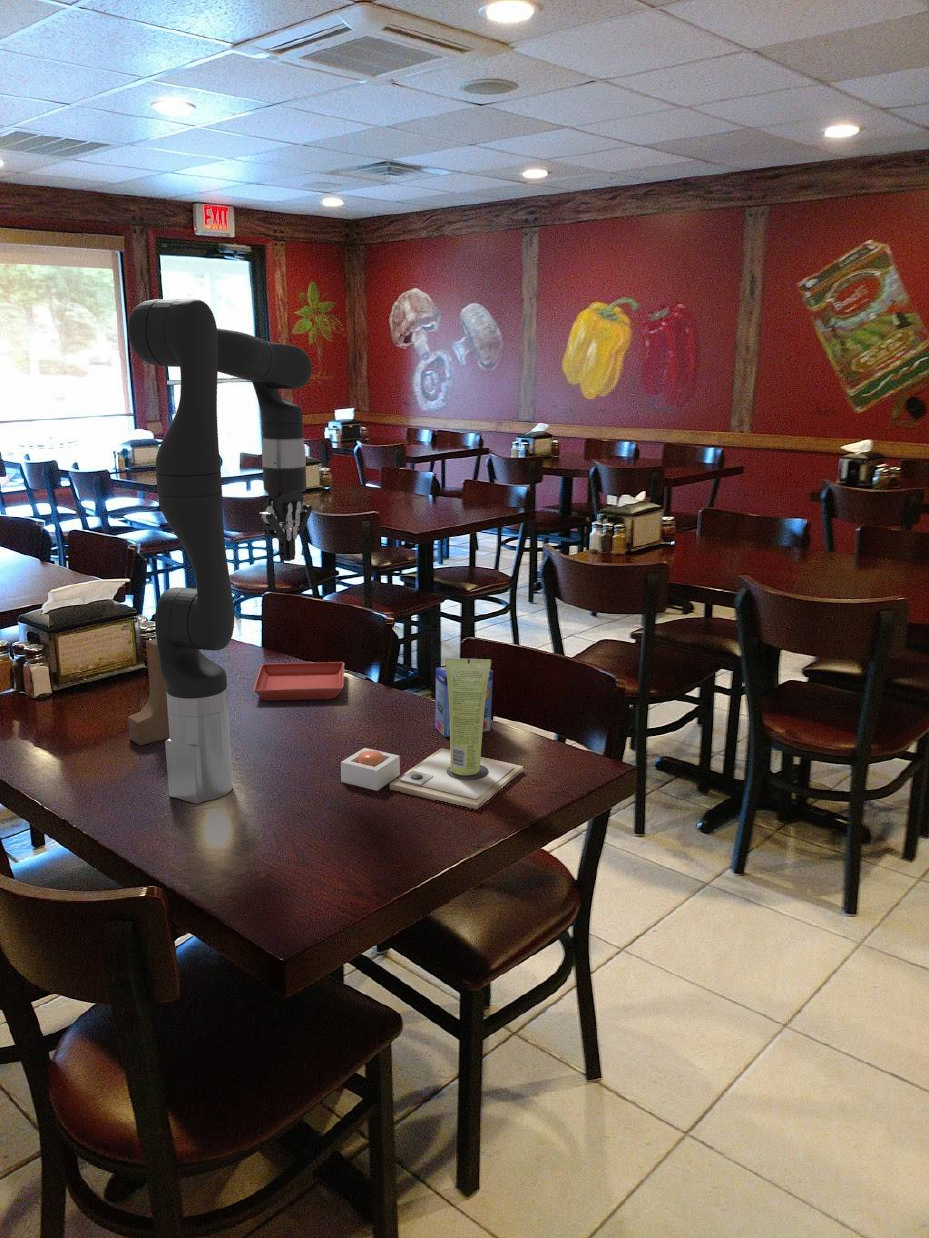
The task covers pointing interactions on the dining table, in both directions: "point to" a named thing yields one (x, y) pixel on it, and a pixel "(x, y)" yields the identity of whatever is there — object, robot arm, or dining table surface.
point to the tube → (466, 712)
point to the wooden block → (152, 705)
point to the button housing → (370, 771)
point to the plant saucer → (300, 681)
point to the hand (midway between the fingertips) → (287, 560)
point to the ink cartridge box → (443, 703)
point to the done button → (370, 758)
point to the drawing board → (455, 780)
